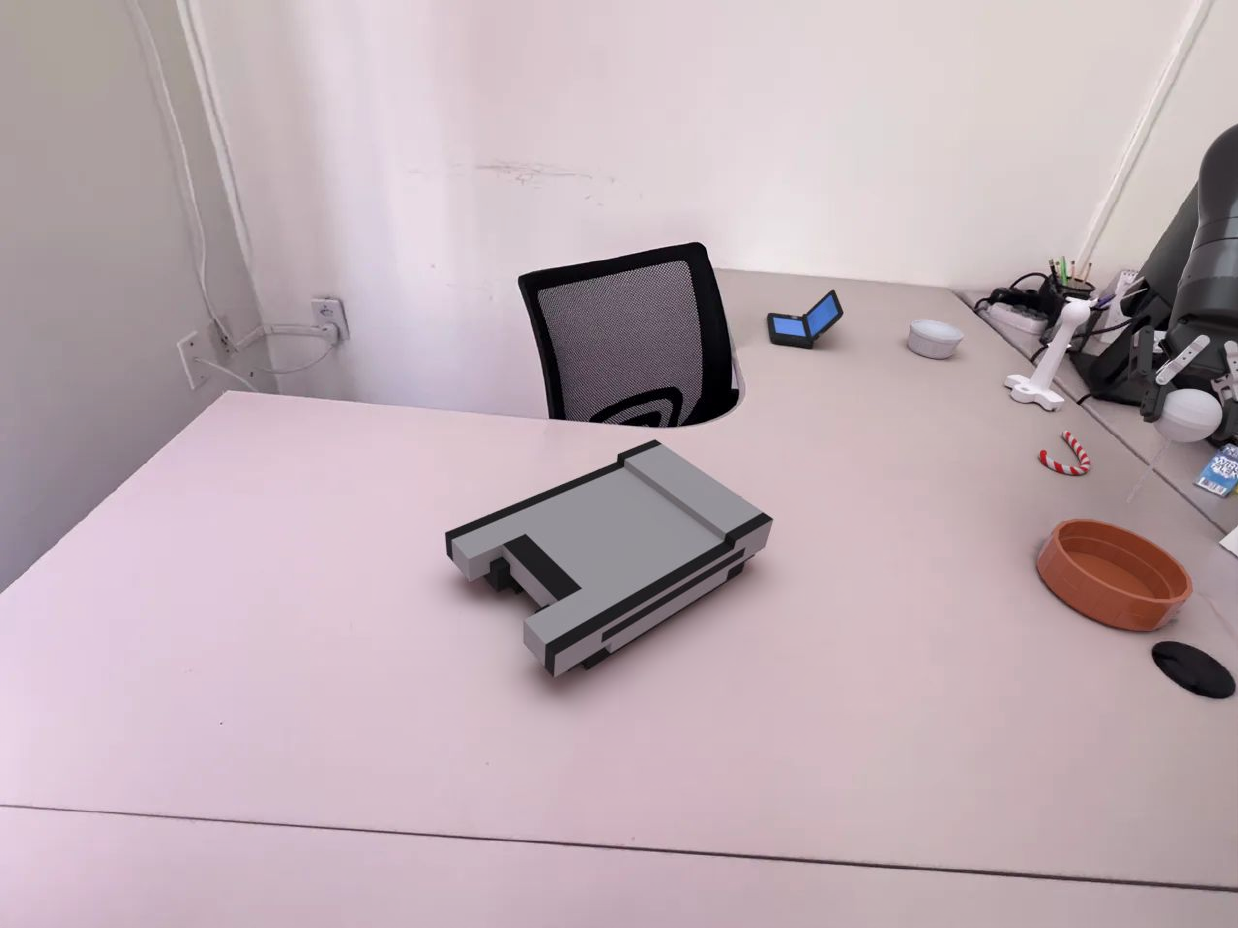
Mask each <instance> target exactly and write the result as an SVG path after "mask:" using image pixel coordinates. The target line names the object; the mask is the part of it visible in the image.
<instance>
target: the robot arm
mask: <svg viewBox="0 0 1238 928" xmlns="http://www.w3.org/2000/svg"><path fill="white" fill-rule="evenodd" d="M1197 180H1198V181H1197V208H1198V209H1197V210H1198V226H1197V229H1196V232H1195V235H1194V238H1193V242H1192V246H1191V250H1190V253H1189V257H1188V260H1187V263H1186V265H1185V266H1184V268H1183V271H1182V274H1181V277H1180V280H1179V281H1178V284H1177V292H1176V296H1175V300H1174V303H1173V308H1172V311H1171V315H1170V319H1169V322H1168V328H1167V329H1166V330H1156V329H1155V328H1154V327H1153V326H1152V325H1148V324H1147V325H1144V326H1143V327H1142V328H1140V329H1139V330H1138V331H1137V332H1135V333H1134V334H1132V335H1131V338H1130V346H1129V355H1128V356H1129V357H1128V358H1129V359H1128V368H1127V369H1128V370H1127V380H1128V381H1129V382H1130V383H1133V384H1139V385H1140V386H1142V388H1143V389H1144V393H1143V396H1142V400H1141V403H1140V408H1139V416H1141V417H1143V420H1142V421H1143V422H1144V423H1148V424H1153V422H1155V421H1157V420H1158V419H1159V418H1160V417H1161V414H1162V410H1163V406H1164V403H1165V399H1166V395H1167V394H1168V391H1169V387H1168V386H1166V385H1167V384H1168V383H1169V382H1171V380H1172V379H1173V378H1175V376H1176V375H1177V374H1181V375H1185V376H1196V377H1198V378H1200V379H1203V380H1208V381H1210V384H1211V386H1212V390H1213V391H1214V392H1216V393H1217V395H1218V398H1219V401H1220V403H1221V404H1220V405H1221V409H1222V420H1221V423H1220V425H1219V427H1218V428H1217V429H1216V430H1215V431H1214V432H1213V433H1212V434H1211V439H1212V440H1215V441H1221V442H1222V441H1224V440H1226V439H1229V438H1231V436H1233V435H1237V433H1238V123H1236V124H1233V125H1232V126H1229V128H1226V129H1225V130H1224V131H1223V132H1221V133H1220V134H1219V135H1218V136H1217V137H1216V138H1215V139H1214V140H1213V142H1212V143H1210V144H1209V146H1208V148H1207V149H1206V151H1205V153H1204V155H1203V157H1202V159H1201V162H1200V166H1199V171H1198V179H1197ZM1159 343H1160V345H1161V347H1162V349H1163V351H1164V353H1165V355H1166V356H1167V358H1168V360H1167V361H1166V362H1165V363H1164V364H1163V365H1162V366H1161V367H1160V368H1159V369H1158V370H1157V371H1156V372H1155V371H1154V370H1152V367H1153V356H1154V354H1153V353H1154V349H1155V348H1156V347H1157V346H1158V345H1159Z"/></svg>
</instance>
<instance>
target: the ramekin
mask: <svg viewBox="0 0 1238 928" xmlns="http://www.w3.org/2000/svg"><path fill="white" fill-rule="evenodd" d="M964 338H965V334H964V332H962V330H960V328H958V327H956V326H954V325H951V324H950V323H946V322H943V321H938V320H934V319H915V320H912V321H911V322H910V324H909V331H908V338H907V346H908V348H909V350H911V351H912V352H913V353H916V354H918V355H920V356H923V357H924V358H925V357H926V358H930V359H936V360H937V359H938V360H942V359H943V360H944V359H947V358H949V357H951V356H952V355H954V353H955V351H956V350H957V348H958V346H959V345H960V343H961V342H962V341H963V340H964Z"/></svg>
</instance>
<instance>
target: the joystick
mask: <svg viewBox="0 0 1238 928" xmlns="http://www.w3.org/2000/svg"><path fill="white" fill-rule="evenodd" d="M1090 316H1091V308H1090V306H1089V305H1088V304H1087V303H1086V302H1083V301H1079V300H1075V301H1071V302H1069V303H1067V304H1066V305H1064V307H1063V308H1062V310H1061V312H1060V319H1061V324H1060V325H1061V326H1060V327H1059V329H1058V330H1057V332H1056V334H1055V336H1054V337H1053V339H1052V341H1051V343H1050V344H1049V346H1048V348H1047V350H1046V351H1045V353H1044V354H1043V356H1042V358H1041V360H1040V362H1039V364H1038V365H1037V367H1036V369H1035V370H1034V372H1033V373H1032V375H1031V377H1030V378H1029V377H1026V376H1024V375H1021V374H1011V375H1007V376H1006V379H1005V381H1004V383H1003V385H1004V386H1006V387H1008V388H1011V389H1012V390H1011V392H1010V394H1009V395H1010V396H1011V399H1013V400H1014V401H1016V402H1017V403H1022V404H1027V403H1032V402H1033V403H1037V404H1039V405H1040V406H1041V407H1042V408H1044V409H1045V410H1047V411H1052V410H1053V411H1054V412H1059V411H1060V410H1061V408H1062V406H1063V405H1064V402H1065V399H1064V398H1063V397H1061V395H1059V394H1057V393H1056V392H1055V391H1053V390H1052V389H1050V386H1051V384H1052V382H1053V379H1054V377H1055V375H1056V373H1057V370H1058V368H1059V366H1060V364H1061V362H1062V360H1063V357H1064V355H1065V353H1066V351H1067V349H1068V347H1069V345H1070V342H1071V340H1072V337H1073V335H1074V333H1075V331H1076V330H1077V328H1078V327H1079V326H1081V325H1083V324H1085V323H1086V322H1087V321H1088V319H1089V318H1090Z"/></svg>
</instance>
